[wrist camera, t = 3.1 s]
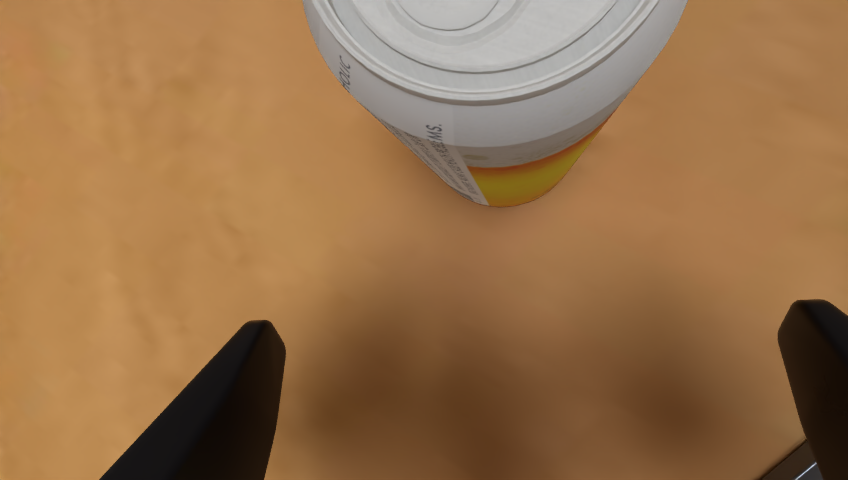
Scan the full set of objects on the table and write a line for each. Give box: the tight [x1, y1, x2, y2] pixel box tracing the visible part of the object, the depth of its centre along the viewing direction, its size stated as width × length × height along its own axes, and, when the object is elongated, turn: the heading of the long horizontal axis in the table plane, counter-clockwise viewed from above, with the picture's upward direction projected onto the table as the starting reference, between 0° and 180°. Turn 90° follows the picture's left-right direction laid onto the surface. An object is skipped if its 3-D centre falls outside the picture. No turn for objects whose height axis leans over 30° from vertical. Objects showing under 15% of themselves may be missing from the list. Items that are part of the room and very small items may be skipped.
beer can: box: [303, 0, 688, 207], centre depth 14 cm, size 6×6×15 cm
